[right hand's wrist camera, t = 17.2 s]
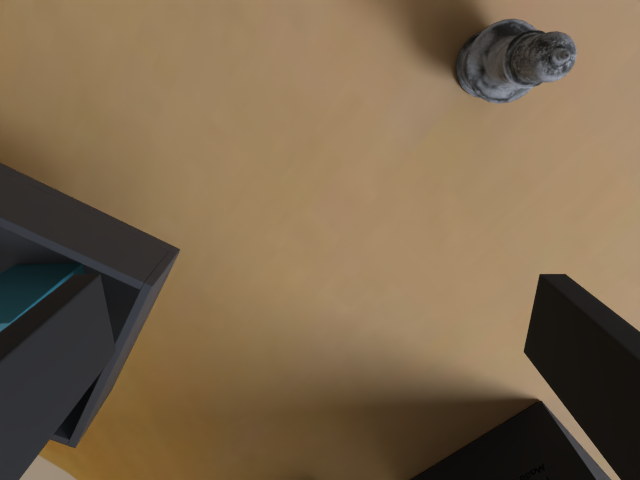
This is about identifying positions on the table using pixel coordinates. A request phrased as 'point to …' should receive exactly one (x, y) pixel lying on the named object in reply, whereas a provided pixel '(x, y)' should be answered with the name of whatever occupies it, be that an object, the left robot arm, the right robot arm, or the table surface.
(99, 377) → the tray
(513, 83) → the stone chess piece
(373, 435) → the table surface
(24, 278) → the block
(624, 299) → the table surface
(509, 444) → the cardboard box
